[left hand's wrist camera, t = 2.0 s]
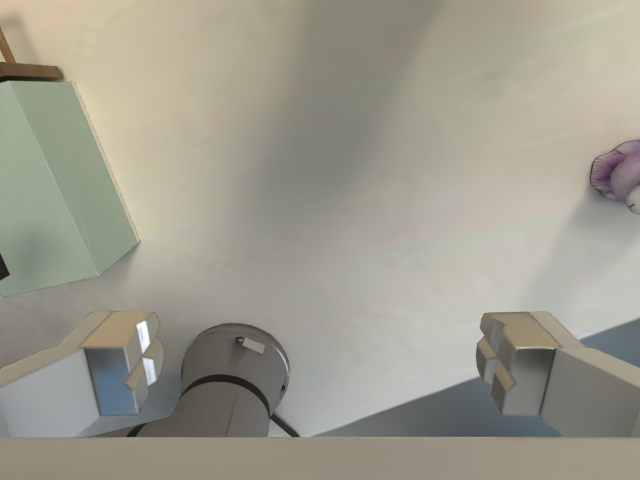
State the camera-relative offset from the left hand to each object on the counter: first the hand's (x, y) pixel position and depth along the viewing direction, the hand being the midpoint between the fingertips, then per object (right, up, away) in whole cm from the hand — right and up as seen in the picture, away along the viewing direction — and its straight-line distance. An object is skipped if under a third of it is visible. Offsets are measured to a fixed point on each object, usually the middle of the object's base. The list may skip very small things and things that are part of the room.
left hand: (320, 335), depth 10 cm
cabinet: (-31, +10, +40) cm, 52 cm away
